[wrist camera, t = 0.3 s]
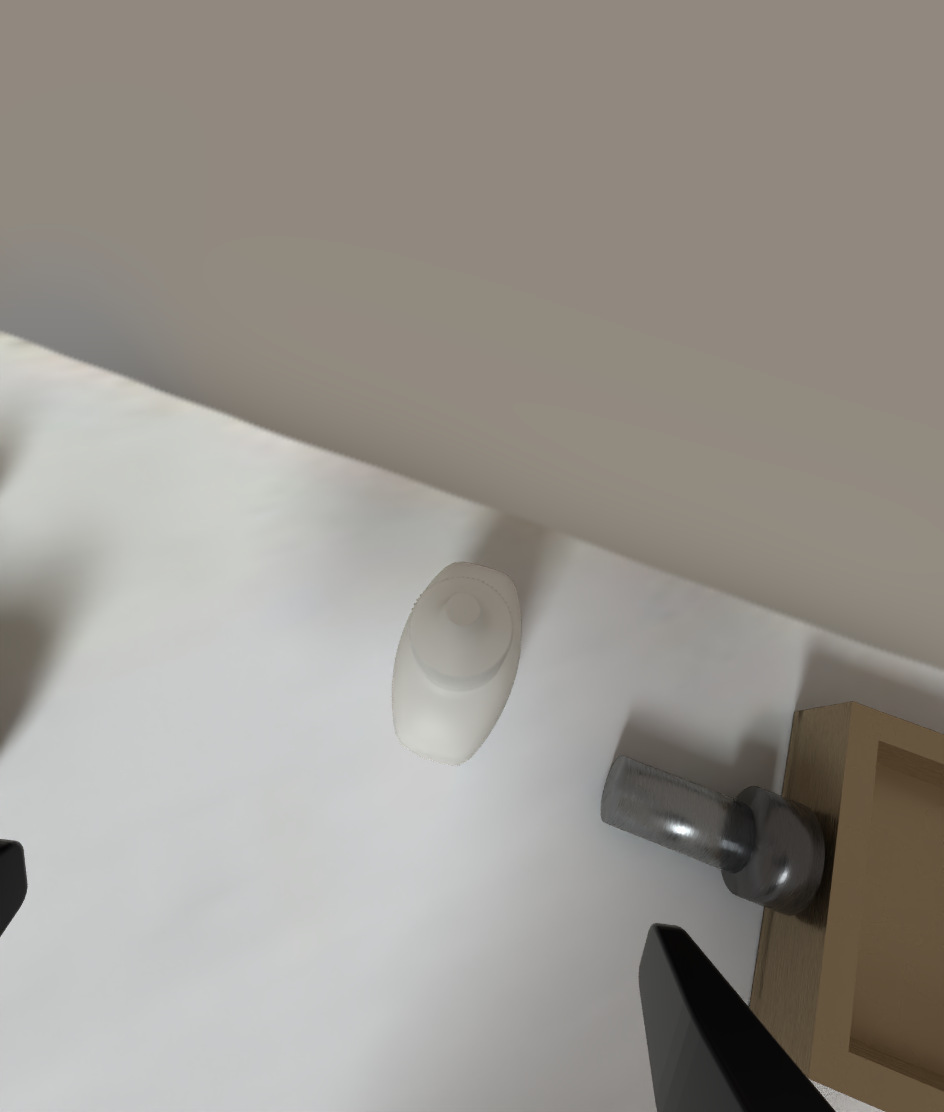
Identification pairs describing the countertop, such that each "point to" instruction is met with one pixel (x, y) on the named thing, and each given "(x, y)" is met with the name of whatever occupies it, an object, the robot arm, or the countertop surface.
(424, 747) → the white bottle
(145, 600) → the countertop surface
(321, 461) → the countertop surface
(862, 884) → the square brown wooden tray
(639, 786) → the input shaft
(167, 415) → the countertop surface
